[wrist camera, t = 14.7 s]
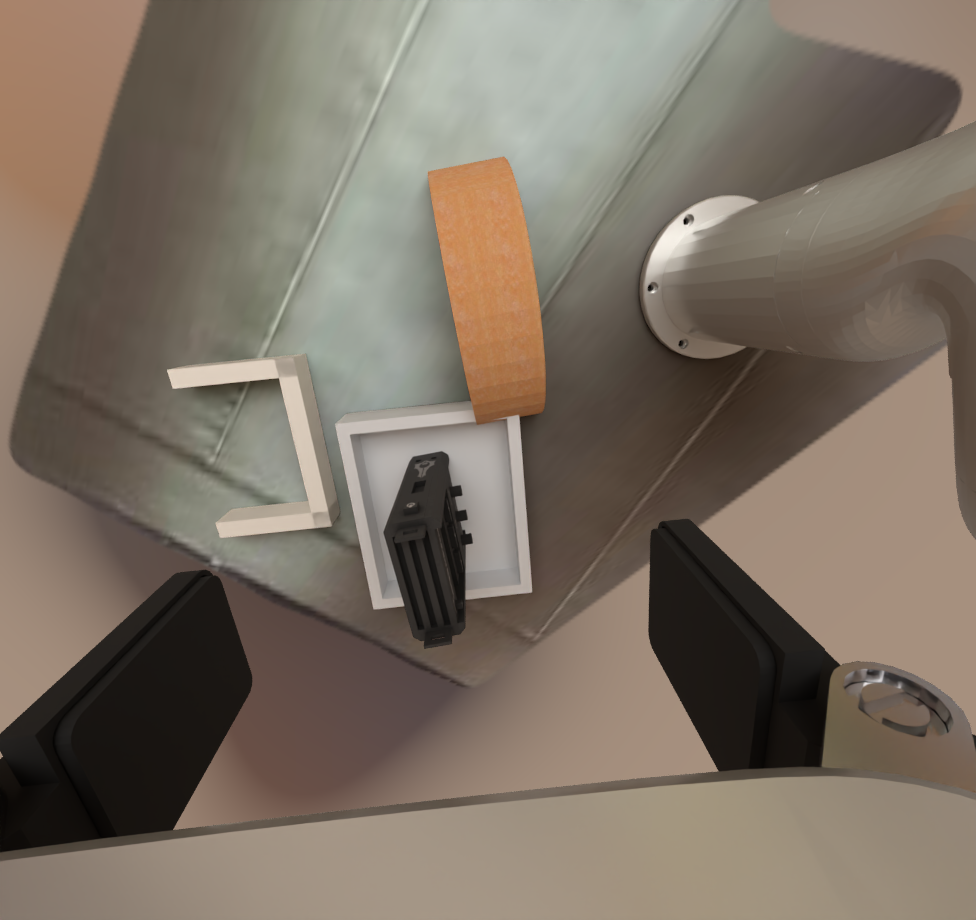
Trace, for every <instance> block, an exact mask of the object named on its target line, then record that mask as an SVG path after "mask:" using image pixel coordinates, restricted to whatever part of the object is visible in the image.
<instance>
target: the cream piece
mask: <svg viewBox="0 0 976 920" xmlns="http://www.w3.org/2000/svg"><path fill="white" fill-rule="evenodd" d="M167 372H168V375H169V378H170V381H171V384H172V387H173V389H175V388H185V387H195V386H205V385H215V384H225V383H235V382H244V381H254V380H264V379H274V378H279V381H280V385H281V389H282V393H283V397H284V402H285V406H286V410H287V414H288V418H289V422H290V426H291V431H292V435H293V439H294V443H295V447H296V451H297V456H298V460H299V464H300V468H301V472H302V476H303V480H304V485H305V489H306V493H307V497H308V501H302V502H293V503H283V504H273V505H264V506H254V507H245V508H235V509H231V510H230V511H229V512H228V513H227V514H225V515H224V516H223V517H222V518H221V519H220V520H219V521H217V522H216V526H217V529H218V532H219V535H220V538H225V537H235V536H244V535H254V534H263V533H273V532H282V531H292V530H301V529H311V528H320V527H330V526H332V525H333V523H334V522H335V520H336V518H337V517H338V515H339V514H340V508H339V504H338V499H337V494H336V490H335V485H334V481H333V476H332V472H331V467H330V462H329V458H328V453H327V449H326V444H325V440H324V435H323V430H322V426H321V421H320V417H319V412H318V407H317V403H316V398H315V394H314V389H313V385H312V380H311V375H310V371H309V366H308V362H307V357H306V354H296V355H286V356H276V357H266V358H256V359H246V360H236V361H227V362H217V363H207V364H197V365H188V366H183V367H178V368H174V369H169V370H167Z"/></svg>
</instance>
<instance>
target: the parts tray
mask: <svg viewBox="0 0 976 920" xmlns="http://www.w3.org/2000/svg"><path fill="white" fill-rule="evenodd" d="M506 418H507V419H506ZM499 419H506V420H501V421H496V422H491V423H485V424H480V425H477V423H476V419H475V416H474V411H473V407H472V403H471V401H461V402H451V403H442V404H432V405H422V406H412V407H402V408H393V409H383V410H373V411H363V412H354V413H347V414H346V415H345V416H343V417H342V418H341V419H340V420H339V421H338V422H337V423H336V424H335V426H336V431H337V436H338V440H339V445H340V450H341V455H342V460H343V465H344V469H345V474H346V479H347V484H348V489H349V493H350V498H351V503H352V508H353V513H354V517H355V522H356V527H357V532H358V537H359V541H360V546H361V551H362V556H363V561H364V565H365V570H366V575H367V580H368V585H369V589H370V594H371V599H372V604H373V609H383V608H392V607H401V606H404V603H403V599H402V596H401V592H400V589H399V586H398V582H397V579H396V575H395V572H394V568H393V565H392V561H391V558H390V554H389V551H388V547H387V544H386V540H385V537H384V533H383V531H384V529H385V526H386V523H387V521H388V518H389V515H390V512H391V510H392V507H393V504H394V502H395V499H396V496H397V494H398V491H399V488H400V485H401V483H402V480H403V477H404V475H405V472H406V469H407V467H408V464H409V462H410V460H411V459H412V457H413V456H419V455H424V454H429V453H435V452H440V451H443V452H445V453H446V454H448V456H449V467H448V468H449V473H450V477H451V482H452V486H457V485H461V488H462V494H463V495H462V496H458V497H455V500H456V504H457V509H458V511H460V510H465V509H466V511H467V516H468V520H465V521H460V522H461V526H462V530H465V532H466V534H468V533H471V534H472V539H473V544H468V545H466V599H476V598H485V597H494V596H504V595H513V594H522V593H532V581H531V568H530V554H529V541H528V528H527V514H526V501H525V487H524V474H523V460H522V447H521V433H520V420H519V415H515V416H509V417H504V418H499ZM494 420H496V419H494Z"/></svg>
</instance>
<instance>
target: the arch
mask: <svg viewBox="0 0 976 920" xmlns="http://www.w3.org/2000/svg"><path fill="white" fill-rule="evenodd" d="M428 179H429V186H430V193H431V199H432V205H433V210H434V216H435V222H436V227H437V233H438V238H439V244H440V249H441V255H442V260H443V265H444V271H445V276H446V281H447V286H448V291H449V297H450V302H451V307H452V312H453V317H454V322H455V327H456V332H457V337H458V342H459V347H460V352H461V356H462V361H463V366H464V371H465V376H466V380H467V385H468V390H469V394H470V398H471V403H472V407H473V411H474V416H475V419H476V423H477V425H480V424H485V423H491V422H496V421H501V420H506V419H507V418H506V419H499V418H504V417H509V416H515V415H519V417H522V416H528V415H533V414H538V413H542V412H543V410H544V405H545V395H546V373H545V355H544V343H543V332H542V323H541V314H540V305H539V298H538V291H537V284H536V277H535V271H534V264H533V258H532V252H531V247H530V241H529V236H528V231H527V226H526V221H525V217H524V212H523V208H522V203H521V199H520V195H519V192H518V188H517V184H516V181H515V178H514V175H513V172H512V169H511V167H510V164H509V162H508V160H507V159H506V158H505V157H500V158H495V159H490V160H485V161H479V162H474V163H469V164H464V165H459V166H454V167H449V168H444V169H439V170H434V171H429V172H428ZM494 419H496V420H494Z"/></svg>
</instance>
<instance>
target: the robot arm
mask: <svg viewBox="0 0 976 920" xmlns="http://www.w3.org/2000/svg"><path fill="white" fill-rule="evenodd" d="M683 219H685V220H686V224H685V225H684V223H683ZM649 285H650V286H651V290H650V291H648V289H647V288H648V286H649ZM639 294H640V302H641V309H642V312H643V315H644V318H645V321H646V323H647V324H648V326H649V328H650V330H651V331H652V333H653V334H654V335H655V336H656V338H657V339H658V340H659V341H660V342H661V343H662V344H664V345H665V346H666V347H668V348H669V349H670V350H672V351H675V352H677V353H679V354H681V355H684V356H689V357H692V358H701V359H712V358H721V357H724V356H728V355H731V354H734V353H736V352H738V351H740V350H742V349H744V348H746V347H753V348H760V349H766V350H773V351H780V352H787V353H794V354H801V355H808V356H815V357H821V358H828V359H838V360H845V361H857V362H872V361H881V360H888V359H893V358H897V357H901V356H905V355H908V354H911V353H914V352H917V351H920V350H922V349H925V348H927V347H929V346H932V345H934V344H936V343H938V342H940V341H942V340H944V339H946V338H947V346H948V363H949V375H950V377H951V378H952V397H953V424H954V449H955V466H956V467H955V468H956V485H957V493H958V501H959V507H960V510H961V514H962V517H963V519H964V522H965V524H966V526H967V528H968V530H969V531H970V533H971V534H972V536H973V537H974V538H975V539H976V121H975V122H973V123H970V124H968V125H966V126H964V127H962V128H960V129H958V130H955V131H953V132H950V133H948V134H945V135H942V136H940V137H937V138H935V139H932V140H930V141H927V142H925V143H922V144H920V145H917V146H915V147H912V148H910V149H907V150H905V151H902V152H900V153H897V154H895V155H892V156H889V157H886V158H884V159H881V160H878V161H875V162H873V163H870V164H867V165H864V166H861V167H858V168H855V169H853V170H850V171H847V172H844V173H841V174H839V175H836V176H833V177H830V178H827V179H824V180H822V181H819V182H816V183H813V184H810V185H807V186H805V187H802V188H799V189H796V190H793V191H790V192H788V193H785V194H782V195H779V196H776V197H773V198H771V199H768V200H765V201H762V202H758V201H756V200H754V199H752V198H748V197H744V196H740V195H722V196H717V197H712V198H708V199H706V200H703V201H701V202H698V203H696V204H694V205H692V206H690V207H688V208H687V209H685V210H683V211H681V212H680V213H679V214H678V215H676V216H675V217H674V218H673V219H671V220H670V221H669V222H668V223H667V225H666V226H665V227H664V228H663V229H662V230H661V231H660V232H659V234H658V235H657V237H656V238H655V240H654V242H653V243H652V245H651V246H650V248H649V251H648V253H647V256H646V258H645V261H644V263H643V268H642V272H641V276H640V290H639ZM680 340H681V345H680V346H679V345H678V344H679V341H680ZM649 586H650V587H649V588H650V589H649V639H650V643H651V646H652V649H653V651H654V653H655V654H656V656H657V658H658V660H659V662H660V664H661V665H662V667H663V669H664V671H665V673H666V675H667V676H668V678H669V680H670V682H671V684H672V686H673V688H674V689H675V691H676V693H677V695H678V697H679V698H680V701H681V702H682V704H683V706H684V708H685V710H686V712H687V713H688V715H689V717H690V719H691V721H692V723H693V725H694V726H695V728H696V730H697V732H698V733H699V736H700V737H701V739H702V741H703V743H704V745H705V747H706V749H707V750H708V752H709V754H710V756H711V758H712V760H713V761H714V763H715V765H716V767H717V769H718V771H719V772H708V773H696V774H685V775H675V776H662V777H651V778H640V779H630V780H621V781H611V782H601V783H592V784H582V785H573V786H563V787H555V788H544V789H535V790H525V791H516V792H506V793H497V794H487V795H478V796H470V797H461V798H451V799H442V800H433V801H424V802H415V803H406V804H397V805H389V806H379V807H370V808H362V809H352V810H343V811H335V812H325V813H317V814H309V815H299V816H290V817H282V818H272V819H264V820H256V821H248V822H239V823H230V824H221V825H213V826H205V827H196V828H188V829H179V830H173V829H174V827H175V825H176V823H177V821H178V820H179V818H180V816H181V814H182V813H183V811H184V809H185V807H186V805H187V804H188V802H189V800H190V798H191V796H192V795H193V793H194V791H195V789H196V788H197V786H198V784H199V782H200V780H201V779H202V777H203V775H204V773H205V772H206V770H207V768H208V766H209V764H210V763H211V761H212V759H213V757H214V755H215V754H216V752H217V750H218V748H219V746H220V745H221V743H222V741H223V739H224V738H225V736H226V734H227V732H228V730H229V729H230V727H231V725H232V723H233V722H234V720H235V718H236V716H237V715H238V713H239V711H240V709H241V707H242V706H243V704H244V702H245V700H246V698H247V697H248V695H249V693H250V691H251V687H252V674H251V671H250V668H249V665H248V662H247V658H246V655H245V653H244V649H243V646H242V644H241V640H240V637H239V634H238V631H237V628H236V625H235V622H234V619H233V616H232V613H231V610H230V607H229V604H228V601H227V597H226V594H225V591H224V588H223V585H222V582H221V580H220V579H219V578H218V577H217V576H213V575H212V573H210V571H207V570H199V571H189V572H180V573H176V574H174V575H173V576H172V577H171V578H170V579H169V580H167V581H166V582H165V583H164V584H163V585H162V586H161V587H160V588H159V589H158V590H156V591H155V592H154V593H153V594H152V595H151V596H150V597H149V598H148V599H147V600H146V601H145V602H143V603H142V604H141V605H140V606H139V607H138V608H137V609H136V610H135V611H134V612H132V613H131V614H130V615H129V616H128V617H127V618H126V619H125V620H124V621H123V622H122V623H120V624H119V626H117V627H116V628H115V629H114V630H113V631H112V632H111V633H110V634H108V635H107V636H106V637H105V638H104V639H103V640H102V641H101V642H100V643H99V644H98V645H96V647H94V648H93V649H92V650H91V651H90V652H89V653H88V654H87V655H86V656H85V657H83V658H82V659H81V660H80V661H79V662H78V663H77V664H76V665H75V666H74V667H72V668H71V669H70V670H69V671H68V672H67V673H66V674H65V675H64V676H63V677H62V678H61V679H60V680H58V681H57V682H56V683H55V684H54V685H53V686H52V687H51V688H50V689H49V690H47V691H46V692H45V693H44V694H43V695H42V696H41V697H40V698H39V699H38V700H37V701H35V702H34V703H33V704H32V705H31V706H30V707H29V708H28V709H27V710H26V711H25V712H23V713H22V714H21V715H20V716H19V717H18V718H17V719H16V720H15V721H14V722H13V723H11V724H10V725H9V726H8V727H7V728H6V729H5V730H4V731H3V732H2V733H1V734H0V752H1V753H2V755H3V757H2V758H1V759H0V920H976V736H975V735H973V734H972V732H971V727H970V724H969V722H968V720H967V718H966V716H965V714H964V712H963V710H962V709H961V708H960V707H959V706H958V705H957V704H956V703H955V702H954V701H953V700H952V698H950V697H949V696H948V695H946V694H945V693H944V692H942V691H941V690H940V689H938V688H937V687H936V686H934V685H933V684H931V683H929V682H927V681H925V680H923V679H921V678H920V677H918V676H916V675H914V674H912V673H909V672H906V671H904V670H901V669H898V668H895V667H893V666H888V665H884V664H879V663H875V662H860V661H856V662H851V663H845V664H842V665H840V664H839V663H838V662H836V661H835V660H834V659H833V658H832V657H831V656H830V655H829V654H828V653H827V652H826V651H825V649H824V648H823V647H822V646H821V645H820V644H819V643H818V642H817V641H816V640H815V639H814V638H813V637H812V636H811V635H810V634H809V633H808V632H807V631H806V630H804V629H803V628H802V627H801V626H800V625H799V624H798V623H797V622H796V621H795V620H794V619H793V618H792V617H791V616H790V615H789V614H788V613H787V612H786V611H785V610H784V609H783V608H782V607H780V606H779V605H778V604H777V603H776V602H775V601H774V600H773V599H772V598H771V597H770V596H769V595H768V594H767V593H766V592H765V591H764V590H763V589H761V587H760V586H759V585H757V584H756V583H755V582H754V581H753V580H752V579H751V578H750V577H749V576H748V575H747V574H746V573H745V572H744V571H743V570H742V569H741V568H740V567H739V566H738V565H737V564H736V563H735V562H733V561H732V560H731V559H730V558H729V557H728V556H727V555H726V554H725V553H724V552H723V551H722V550H721V549H720V548H719V547H718V546H717V545H716V544H715V543H714V542H713V541H712V540H711V539H710V538H709V537H707V536H706V535H705V534H704V533H703V532H702V531H701V530H700V529H699V528H698V527H697V526H696V525H695V524H694V523H693V522H692V521H691V520H689V519H681V520H671V521H662V522H660V523H659V526H658V529H653V530H652V531H651V539H650V585H649Z"/></svg>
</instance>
